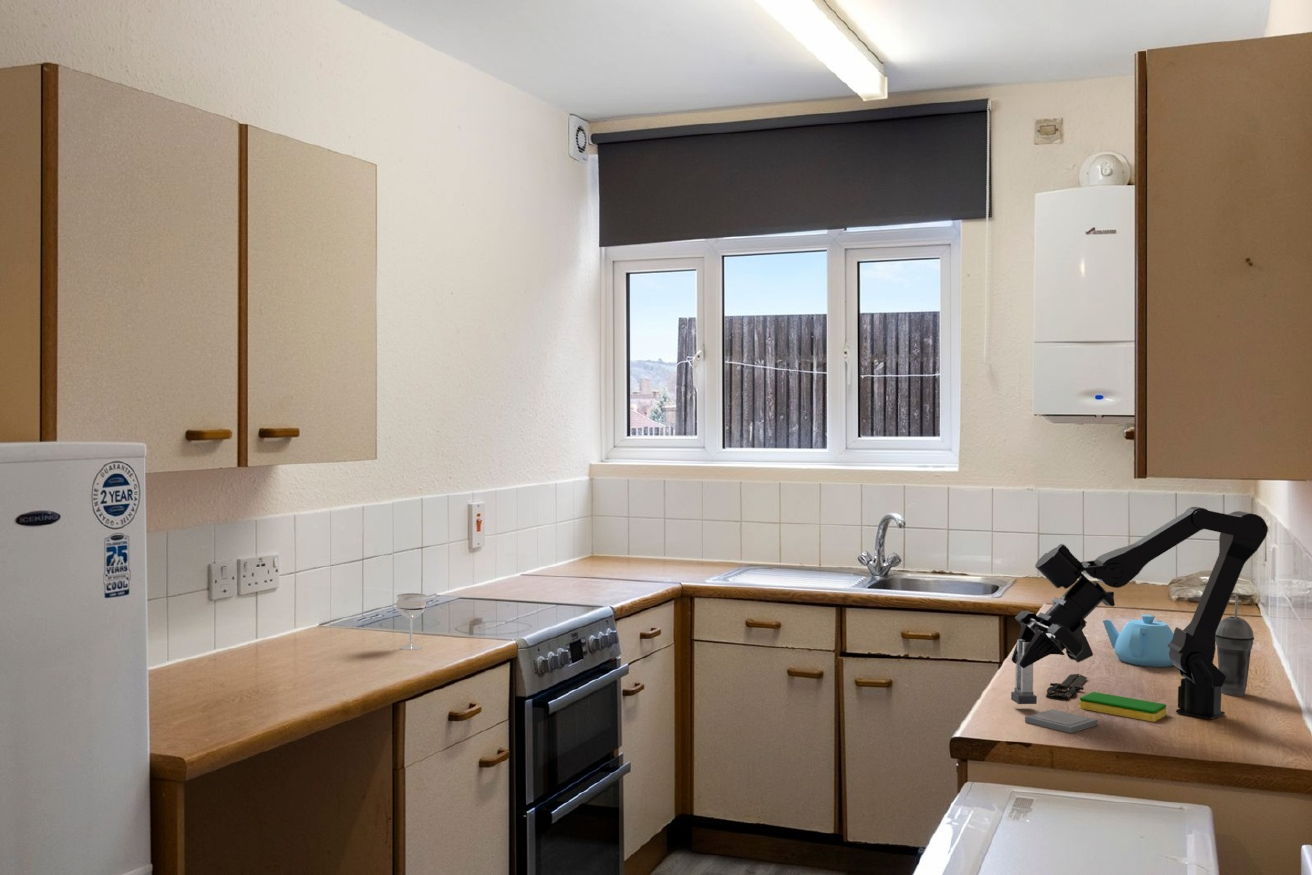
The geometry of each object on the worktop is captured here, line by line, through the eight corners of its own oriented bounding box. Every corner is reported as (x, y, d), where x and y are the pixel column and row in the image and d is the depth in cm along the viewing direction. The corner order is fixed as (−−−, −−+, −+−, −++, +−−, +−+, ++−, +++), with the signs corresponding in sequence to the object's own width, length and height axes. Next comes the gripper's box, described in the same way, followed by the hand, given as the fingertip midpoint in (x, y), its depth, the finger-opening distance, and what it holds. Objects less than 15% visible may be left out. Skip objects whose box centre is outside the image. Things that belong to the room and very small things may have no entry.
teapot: (1098, 654, 267) (1099, 609, 267) (1159, 654, 269) (1160, 609, 268) (1132, 669, 252) (1133, 620, 252) (1196, 668, 253) (1197, 620, 253)
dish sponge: (1154, 724, 206) (1154, 710, 206) (1078, 710, 215) (1079, 697, 215) (1166, 716, 212) (1167, 703, 212) (1092, 703, 221) (1092, 691, 221)
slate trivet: (1097, 725, 203) (1097, 719, 203) (1070, 733, 197) (1070, 727, 197) (1052, 714, 210) (1052, 708, 210) (1024, 721, 204) (1025, 716, 204)
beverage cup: (1247, 690, 233) (1249, 593, 232) (1257, 698, 226) (1260, 598, 225) (1208, 687, 234) (1211, 591, 234) (1217, 695, 227) (1220, 596, 227)
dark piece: (1071, 676, 245) (1072, 670, 245) (1103, 681, 241) (1103, 674, 241) (1036, 698, 224) (1036, 691, 224) (1069, 703, 221) (1070, 696, 221)
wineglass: (397, 644, 263) (398, 593, 263) (427, 644, 264) (427, 593, 263) (393, 650, 256) (394, 597, 256) (423, 650, 257) (424, 597, 257)
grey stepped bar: (1028, 699, 216) (1029, 639, 216) (1036, 704, 212) (1037, 643, 212) (1010, 699, 216) (1011, 639, 215) (1018, 704, 212) (1019, 643, 212)
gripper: (1127, 645, 206) (1067, 706, 205) (1080, 626, 224) (1025, 682, 224) (1086, 602, 205) (1026, 663, 204) (1043, 587, 224) (987, 643, 223)
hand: (1017, 664), depth 214 cm, fingers closed on grey stepped bar, 3 cm apart
